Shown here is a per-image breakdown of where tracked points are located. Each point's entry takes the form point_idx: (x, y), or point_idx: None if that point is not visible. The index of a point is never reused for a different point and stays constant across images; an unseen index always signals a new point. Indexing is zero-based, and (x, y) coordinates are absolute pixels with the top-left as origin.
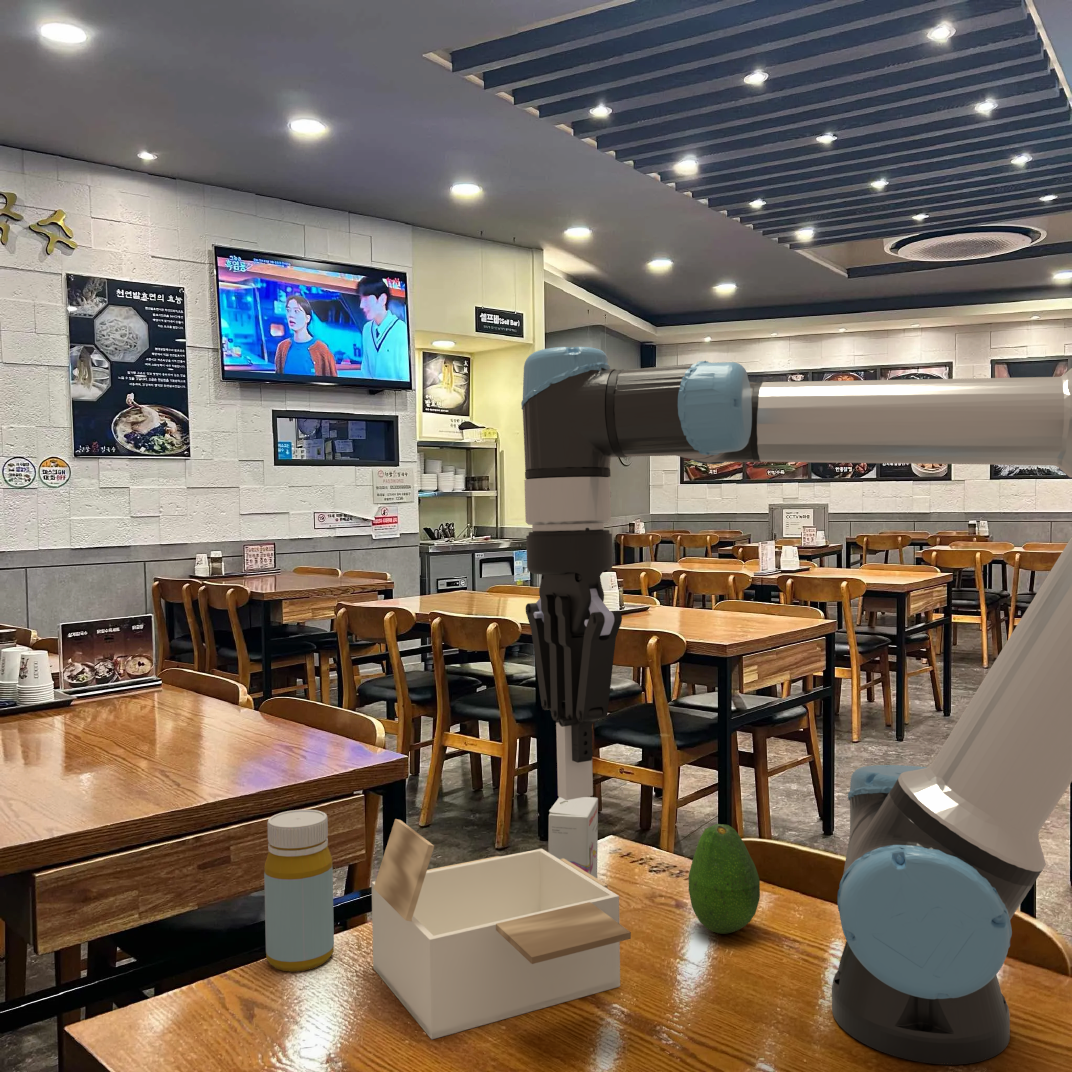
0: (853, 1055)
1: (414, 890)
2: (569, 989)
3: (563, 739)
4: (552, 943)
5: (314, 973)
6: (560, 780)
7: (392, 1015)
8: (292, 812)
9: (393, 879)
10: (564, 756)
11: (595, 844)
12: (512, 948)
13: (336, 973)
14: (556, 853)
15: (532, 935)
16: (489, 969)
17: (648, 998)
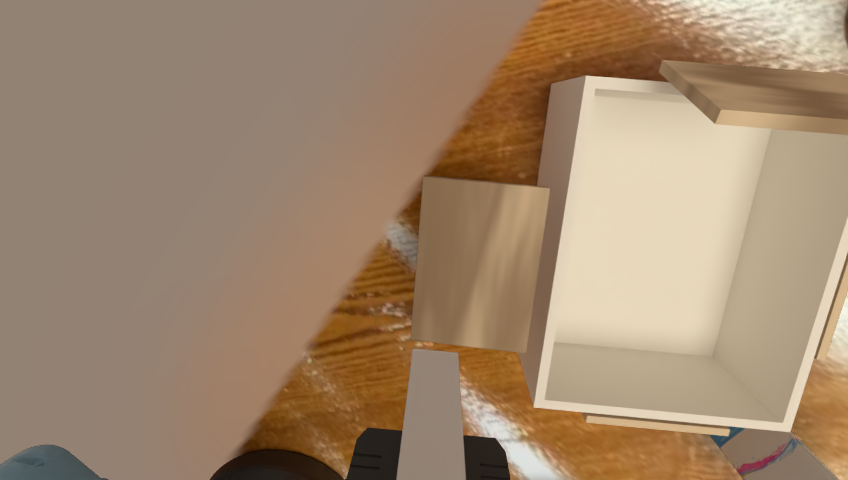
0: (268, 429)
1: (681, 76)
2: None
3: (411, 459)
4: (443, 227)
5: (834, 17)
6: (443, 375)
7: (639, 67)
8: None
9: (787, 80)
10: (409, 418)
11: None
12: (552, 216)
13: (808, 47)
14: (796, 459)
15: (481, 215)
16: (553, 175)
17: (472, 349)
